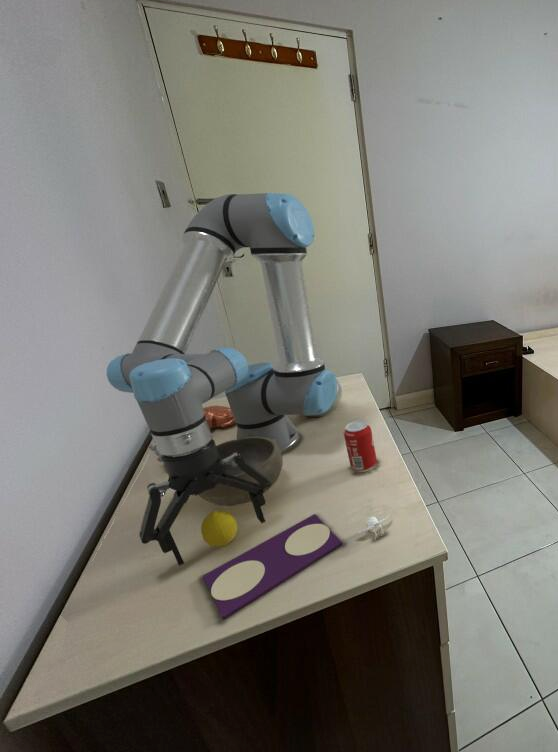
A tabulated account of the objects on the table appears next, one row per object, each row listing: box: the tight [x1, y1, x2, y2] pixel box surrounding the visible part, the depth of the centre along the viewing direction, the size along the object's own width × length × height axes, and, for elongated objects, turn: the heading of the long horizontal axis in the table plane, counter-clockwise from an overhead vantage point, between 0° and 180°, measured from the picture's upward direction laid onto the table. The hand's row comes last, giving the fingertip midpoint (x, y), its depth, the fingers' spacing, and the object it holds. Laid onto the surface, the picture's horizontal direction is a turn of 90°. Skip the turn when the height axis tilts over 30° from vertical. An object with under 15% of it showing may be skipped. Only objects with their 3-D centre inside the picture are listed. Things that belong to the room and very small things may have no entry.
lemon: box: [200, 509, 238, 547], centre depth 77 cm, size 6×6×8 cm
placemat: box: [202, 514, 343, 621], centre depth 74 cm, size 12×20×1 cm, turn 139°
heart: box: [203, 405, 236, 430], centre depth 120 cm, size 6×12×15 cm
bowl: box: [198, 437, 284, 507], centre depth 91 cm, size 17×18×10 cm
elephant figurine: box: [148, 444, 163, 463], centre depth 103 cm, size 10×6×9 cm
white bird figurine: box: [353, 515, 391, 540], centre depth 79 cm, size 8×5×5 cm, turn 132°
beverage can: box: [343, 420, 378, 473], centre depth 99 cm, size 6×6×12 cm
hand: (223, 539), depth 78 cm, fingers open, 13 cm apart
